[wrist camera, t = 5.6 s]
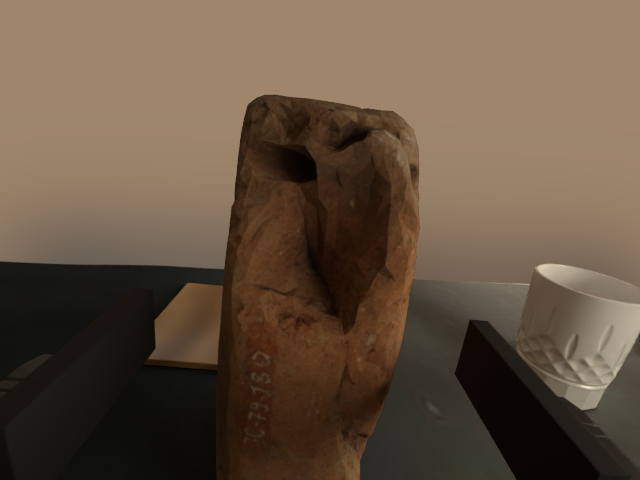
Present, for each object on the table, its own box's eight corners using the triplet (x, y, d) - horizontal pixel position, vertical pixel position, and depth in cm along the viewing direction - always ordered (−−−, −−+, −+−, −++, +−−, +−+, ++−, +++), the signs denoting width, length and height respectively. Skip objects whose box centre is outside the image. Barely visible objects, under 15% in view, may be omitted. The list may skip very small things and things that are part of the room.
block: (247, 396, 24) (262, 107, 18) (347, 406, 25) (394, 123, 19) (192, 588, 14) (187, 67, 8) (366, 601, 14) (485, 103, 8)
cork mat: (122, 363, 26) (122, 356, 26) (187, 287, 40) (187, 282, 39) (370, 383, 27) (371, 376, 27) (352, 302, 41) (352, 297, 40)
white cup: (521, 403, 27) (560, 292, 24) (493, 347, 34) (521, 257, 31) (630, 428, 25) (686, 314, 23) (577, 364, 33) (614, 272, 30)
